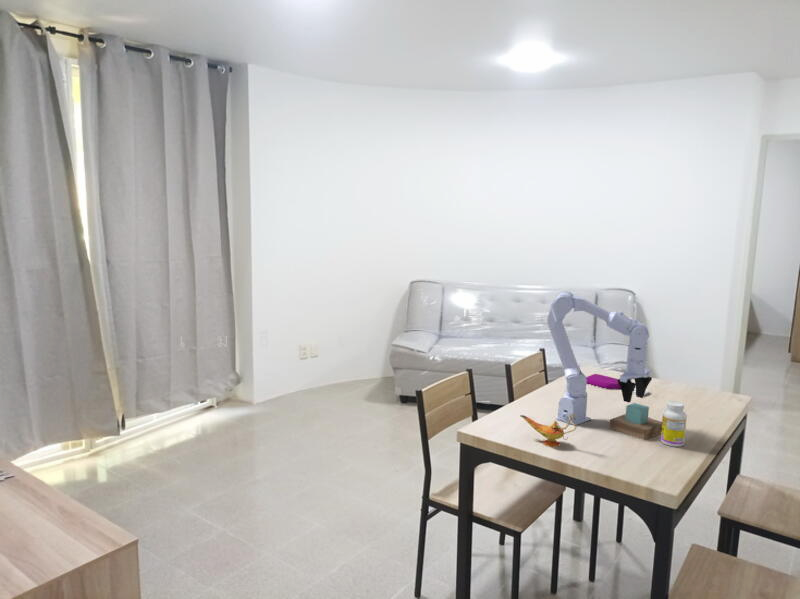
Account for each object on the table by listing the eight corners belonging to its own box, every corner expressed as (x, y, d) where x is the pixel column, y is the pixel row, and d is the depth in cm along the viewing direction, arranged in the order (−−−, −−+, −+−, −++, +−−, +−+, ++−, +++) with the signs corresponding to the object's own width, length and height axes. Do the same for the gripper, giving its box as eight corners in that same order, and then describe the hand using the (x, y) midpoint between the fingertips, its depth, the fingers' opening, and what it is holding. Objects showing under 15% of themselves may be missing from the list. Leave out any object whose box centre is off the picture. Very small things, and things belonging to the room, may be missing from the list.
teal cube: (639, 425, 182) (640, 410, 182) (625, 420, 186) (626, 405, 186) (647, 421, 186) (648, 406, 185) (633, 417, 189) (634, 402, 189)
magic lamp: (523, 432, 183) (524, 399, 182) (578, 445, 173) (580, 410, 172) (514, 438, 178) (515, 405, 176) (571, 453, 168) (573, 417, 166)
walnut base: (643, 439, 178) (644, 430, 178) (609, 428, 187) (609, 419, 187) (663, 431, 185) (664, 422, 185) (629, 420, 195) (629, 412, 194)
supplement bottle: (663, 437, 180) (667, 398, 179) (686, 442, 176) (690, 403, 174) (657, 443, 175) (661, 403, 173) (681, 449, 171) (684, 408, 169)
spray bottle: (595, 379, 244) (652, 394, 226) (582, 384, 237) (640, 399, 219) (596, 372, 244) (653, 386, 226) (582, 377, 236) (640, 392, 219)
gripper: (635, 365, 178) (632, 406, 181) (659, 358, 187) (656, 398, 189) (615, 360, 184) (612, 400, 186) (639, 354, 193) (636, 393, 195)
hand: (633, 399), depth 188 cm, fingers open, 7 cm apart
